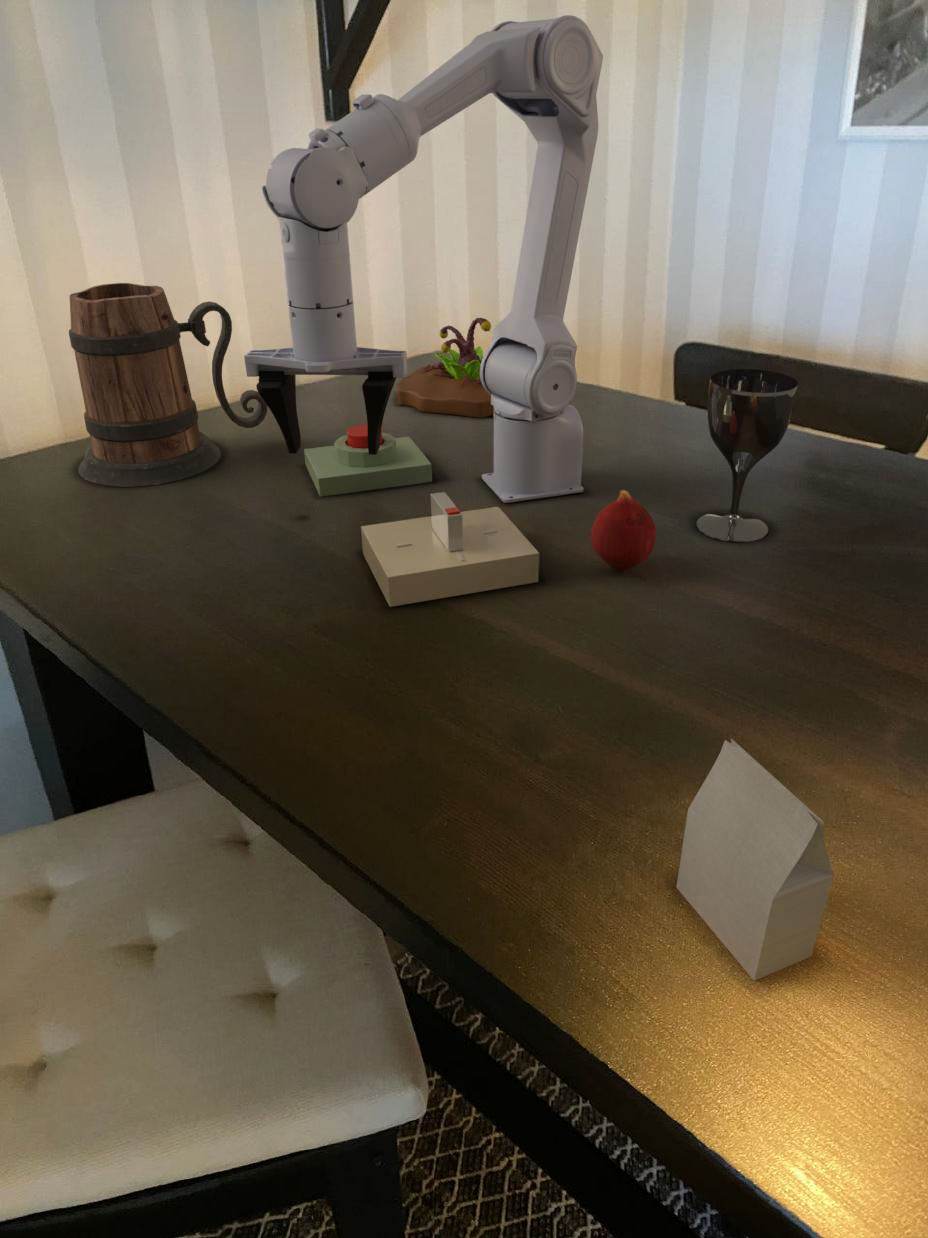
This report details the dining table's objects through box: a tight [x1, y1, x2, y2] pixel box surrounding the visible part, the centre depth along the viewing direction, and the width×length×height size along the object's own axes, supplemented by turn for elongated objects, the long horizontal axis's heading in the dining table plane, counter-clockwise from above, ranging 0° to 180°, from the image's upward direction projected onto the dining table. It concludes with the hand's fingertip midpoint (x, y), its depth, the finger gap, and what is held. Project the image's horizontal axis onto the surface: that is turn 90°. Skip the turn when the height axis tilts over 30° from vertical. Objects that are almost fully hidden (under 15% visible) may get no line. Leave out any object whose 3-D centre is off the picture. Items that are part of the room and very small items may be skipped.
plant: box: [396, 317, 494, 419], centre depth 129 cm, size 20×20×11 cm
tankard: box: [68, 282, 268, 488], centre depth 107 cm, size 24×17×20 cm
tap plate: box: [360, 506, 540, 608], centre depth 84 cm, size 14×11×3 cm
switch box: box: [430, 491, 463, 552], centre depth 83 cm, size 6×1×4 cm, turn 18°
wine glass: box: [695, 368, 799, 543], centre depth 88 cm, size 8×8×15 cm
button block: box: [303, 432, 433, 498], centre depth 105 cm, size 13×10×4 cm
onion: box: [590, 489, 657, 573], centre depth 82 cm, size 6×6×8 cm
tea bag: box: [676, 738, 835, 982], centre depth 46 cm, size 4×7×10 cm, turn 23°
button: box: [346, 424, 383, 449], centre depth 104 cm, size 4×4×2 cm
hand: (334, 450), depth 86 cm, fingers open, 7 cm apart
